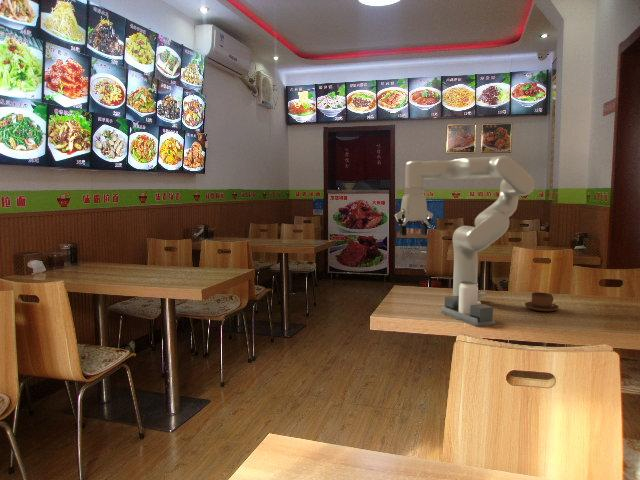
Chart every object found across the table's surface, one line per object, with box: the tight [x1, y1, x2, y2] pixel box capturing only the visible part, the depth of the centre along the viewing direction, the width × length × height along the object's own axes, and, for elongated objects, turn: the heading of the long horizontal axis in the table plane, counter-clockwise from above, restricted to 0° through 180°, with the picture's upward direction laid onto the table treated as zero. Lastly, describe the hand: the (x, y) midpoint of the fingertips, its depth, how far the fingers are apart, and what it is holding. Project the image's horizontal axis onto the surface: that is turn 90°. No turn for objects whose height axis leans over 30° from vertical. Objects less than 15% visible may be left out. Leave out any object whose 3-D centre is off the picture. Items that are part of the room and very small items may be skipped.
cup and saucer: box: [524, 291, 559, 313], centre depth 195 cm, size 12×12×6 cm
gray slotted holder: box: [440, 295, 496, 328], centre depth 181 cm, size 8×20×6 cm, turn 22°
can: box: [459, 281, 479, 316], centre depth 181 cm, size 6×6×12 cm
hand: (413, 234), depth 201 cm, fingers open, 9 cm apart
